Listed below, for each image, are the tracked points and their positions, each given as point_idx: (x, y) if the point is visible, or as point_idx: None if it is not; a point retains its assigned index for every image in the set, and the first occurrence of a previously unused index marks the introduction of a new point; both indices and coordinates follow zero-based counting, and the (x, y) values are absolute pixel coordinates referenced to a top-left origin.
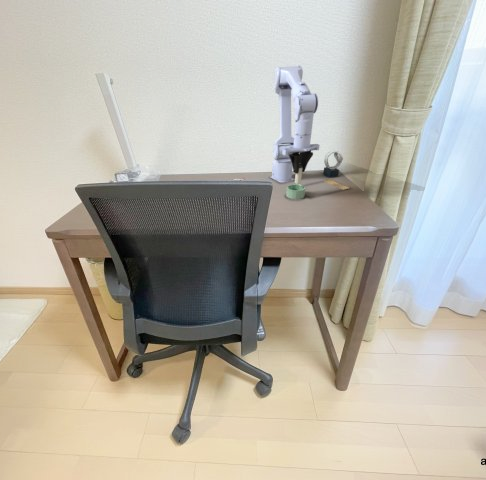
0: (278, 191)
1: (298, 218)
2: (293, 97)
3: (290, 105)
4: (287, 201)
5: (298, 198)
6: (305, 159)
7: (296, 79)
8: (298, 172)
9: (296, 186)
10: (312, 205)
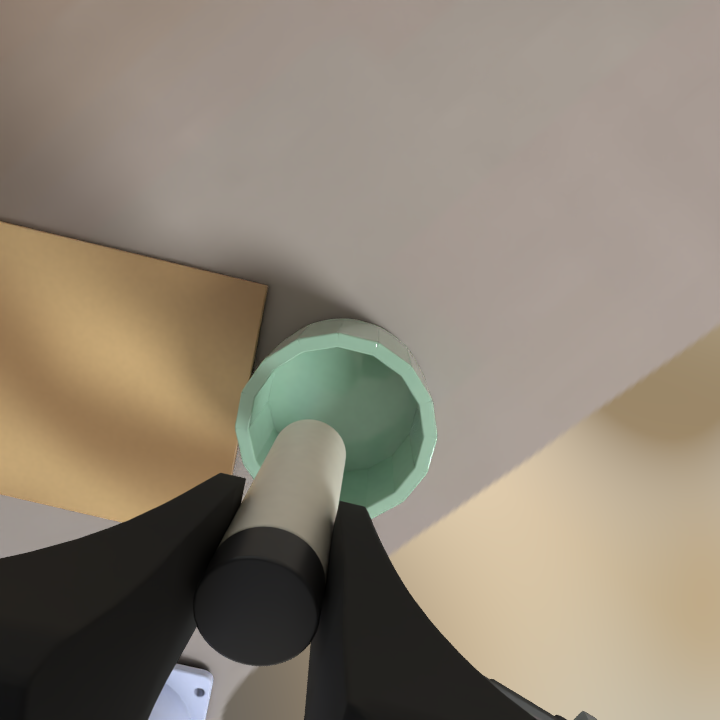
0: None
1: (715, 49)
2: None
3: None
4: (479, 374)
5: (385, 331)
6: (140, 617)
7: None
8: (325, 507)
9: None
10: (385, 155)
